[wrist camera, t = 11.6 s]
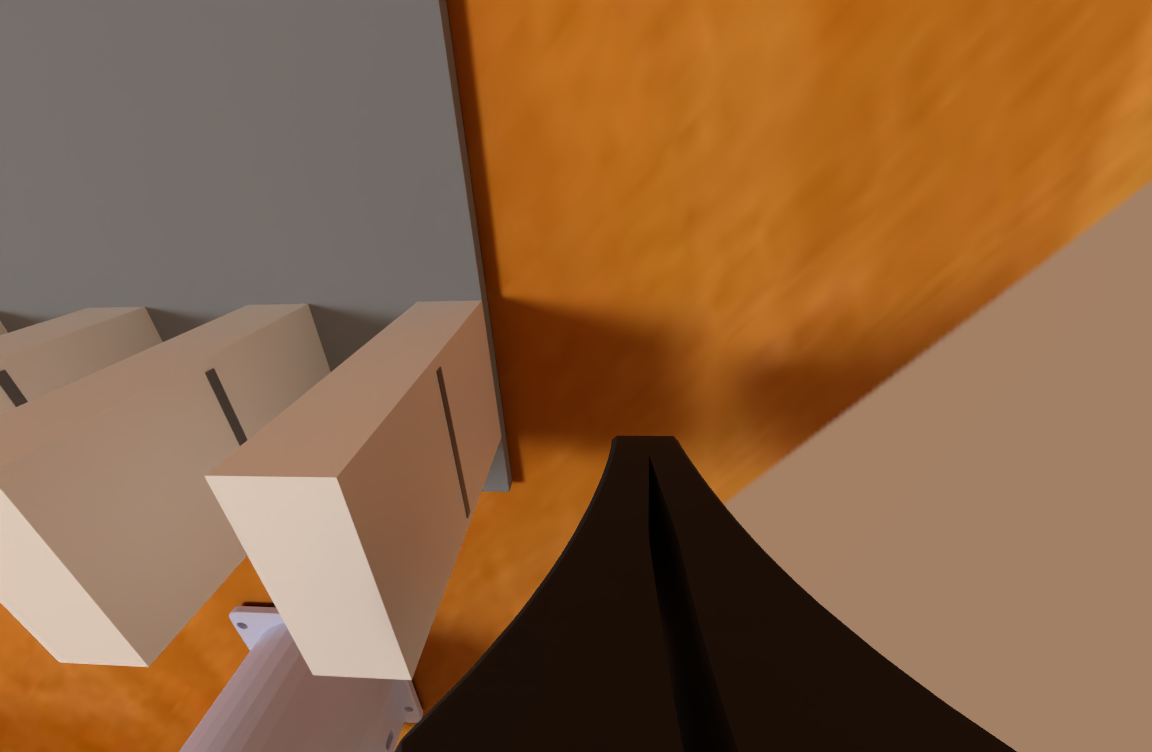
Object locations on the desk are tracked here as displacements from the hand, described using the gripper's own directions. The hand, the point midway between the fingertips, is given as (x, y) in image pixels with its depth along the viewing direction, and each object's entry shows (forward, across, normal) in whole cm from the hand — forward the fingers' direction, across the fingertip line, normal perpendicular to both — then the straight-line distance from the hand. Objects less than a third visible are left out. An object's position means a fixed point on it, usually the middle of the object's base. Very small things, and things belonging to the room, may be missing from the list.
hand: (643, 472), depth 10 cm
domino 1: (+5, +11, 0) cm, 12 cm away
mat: (+5, +18, -3) cm, 19 cm away
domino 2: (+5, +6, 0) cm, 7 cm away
